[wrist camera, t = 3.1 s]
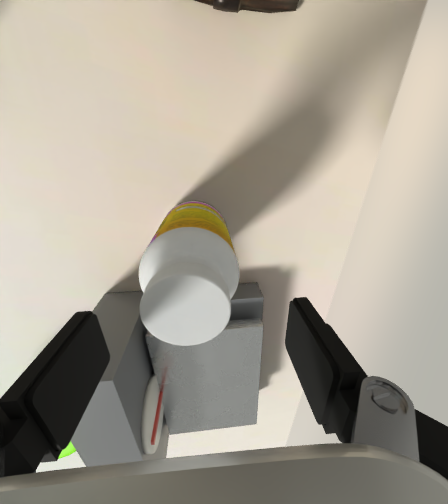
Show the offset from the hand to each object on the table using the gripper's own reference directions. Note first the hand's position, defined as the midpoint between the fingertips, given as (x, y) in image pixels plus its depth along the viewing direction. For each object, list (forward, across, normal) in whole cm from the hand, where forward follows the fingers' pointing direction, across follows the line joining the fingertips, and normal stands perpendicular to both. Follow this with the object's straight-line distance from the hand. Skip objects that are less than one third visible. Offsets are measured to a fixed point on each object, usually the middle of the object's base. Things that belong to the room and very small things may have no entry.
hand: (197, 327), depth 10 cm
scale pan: (+10, 0, +17) cm, 20 cm away
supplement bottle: (+14, +1, -1) cm, 14 cm away
